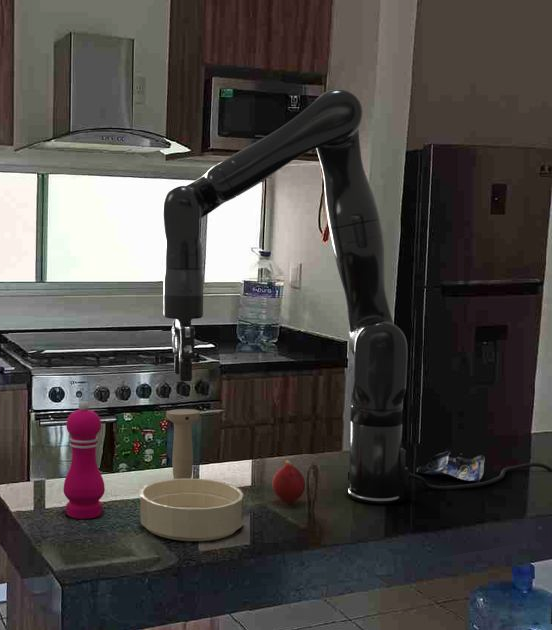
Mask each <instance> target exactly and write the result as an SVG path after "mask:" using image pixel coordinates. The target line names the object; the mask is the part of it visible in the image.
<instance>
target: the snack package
mask: <svg viewBox="0 0 552 630" xmlns="http://www.w3.org/2000/svg"><path fill="white" fill-rule="evenodd" d="M451 453H452V452H451V451H450V450H445V451H444V452H439V453H436V454H434V455H433V456H431V458H430V460H429V462H428V463H427V464H425V466H418V467H417V468H416V473H417V474H420V475H421V474H425V475H432V476H437V475H438V476H447V477H451V478H455V479H458V480H461V481H465V482H475V483H480V482H481V479H482V478H483V475H484V471H485V470H484V469H485V461H486V460H485V457H486V456H484V455H483V454H479V455H477V456H474V457H473V458H464V457H461V456H462V455H463V453H460V456H458V457H452V456H451ZM449 455H450V456H449Z"/></svg>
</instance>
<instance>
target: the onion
mask: <svg viewBox="0 0 552 630" xmlns="http://www.w3.org/2000/svg"><path fill="white" fill-rule="evenodd" d="M271 486H272V490H273V492H274V494H275V495H276V496H277V497H278V498H279V499H280V500H281V501H282V502H283V503H284V504H285V505H291V504H292V503H294V502H296V501H297V500H299V499H300V498H301V497H302V496H303V494H304V492H305V489H306V481H305V478H304V476H303V474H302V472H301V471H300V470H299V469H298V468H297V467H295V466H294V465H293V464H292V463H291V462H290V461H289V460H285V462H284V465H283V466H282V467H280V468H278V470H277V471H276V473H275V474H274V475H273V477H272V481H271Z"/></svg>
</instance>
